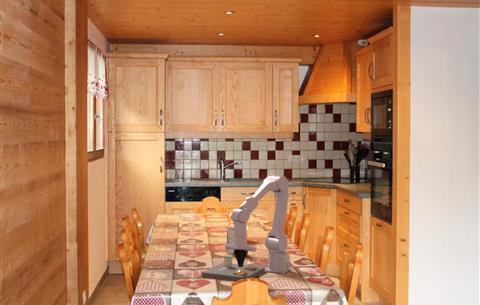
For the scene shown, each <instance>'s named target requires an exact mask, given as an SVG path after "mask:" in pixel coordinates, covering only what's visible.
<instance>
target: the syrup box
mask: <svg viewBox="0 0 480 305" xmlns="http://www.w3.org/2000/svg"><path fill="white" fill-rule="evenodd" d="M227 244H234V225H233V226H229V225H228V226H227V227H226V245H227ZM233 252H234V250H231V249H226V254H231V255H234V254H233Z"/></svg>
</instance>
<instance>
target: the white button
mask: <svg viewBox="0 0 480 305" xmlns="http://www.w3.org/2000/svg"><path fill="white" fill-rule="evenodd" d="M245 265H246V269H247V270H255V266H256V262H254V261H247V262H246V263H245Z"/></svg>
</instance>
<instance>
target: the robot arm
mask: <svg viewBox="0 0 480 305" xmlns="http://www.w3.org/2000/svg"><path fill="white" fill-rule="evenodd" d="M289 185H290V181H289V179H288V178H287V177H286V176H283V175H272V174H270V175H267V176H266V178H265V179H263V182H262V184H261V185H260V187H259V188H258V189H257V190H256V192H254V194H253V195H252V196H247V197H246V198H245V200H244V201H243V202H242V203H241V205H239V206H238V207H239V208H237V209H234V210H233V209H232V210H233V212H232V211H231V212H232V215H231V219H232V220H233V224H234V244H227V243H226V244H224V249H225V250H227V249H231V250H234V252H233V254H232V255H234V257H235V259H236V264H238V267H243V265H245V264H244V262H245V260H246V258H247V254H248V252H252V253H255V252H257V246H252V245H248V240H247V226H248V222H249V220H250V217H251V215H252V212H254V211H255V210H256V208H257V207H259V201H261V199H263V198H264V197H265V196H266V195H267V194H268V193H270V192H272V193H274V195H275V196H276V201H275V204H274V205H275V207H274V211H273V212H274V214H273V220H272V221H273V222H272V228H271V230H270V231H269V232H268V233H267V237H266V238H265V241H264V246H265V247H266V249H267V251H268V268H267V269H265V272H270V273H278V274H286V273H287V272H289V271H290V270H291V266H290V265H291V264H290V263H291V261H290V259H291V257H290V253H289V252H287V251H286V250H287V249H288V235H287V234H286V233H285V225H286V224H285V223H286V218H287V210H288V204H289V203H288V202H289V198H290V191H289V188H290V187H289Z"/></svg>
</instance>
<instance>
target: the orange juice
mask: <svg viewBox="0 0 480 305" xmlns="http://www.w3.org/2000/svg"><path fill="white" fill-rule="evenodd" d="M237 208H239V206H237V207H235V206H234V207H233V208H232V210H231V211H230V213H229V215H228V226H233V225H234V224H233V220H232V219H231V215H232V212H233V210H234V209H237ZM248 229H249V228H248V225H247V241H248V239H249V238H248V236H249V234H248V233H249V232H248Z"/></svg>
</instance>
